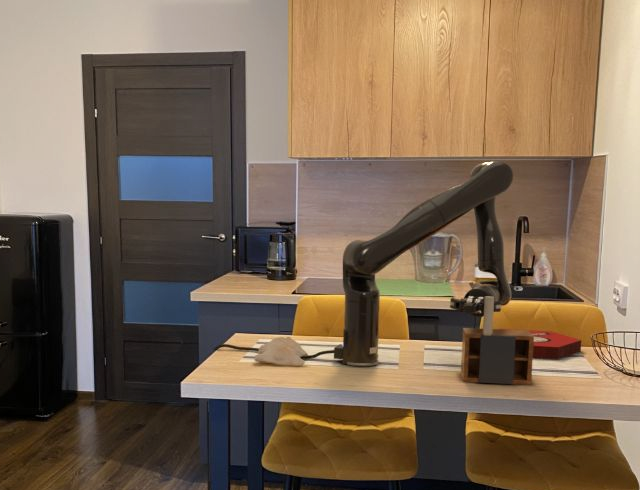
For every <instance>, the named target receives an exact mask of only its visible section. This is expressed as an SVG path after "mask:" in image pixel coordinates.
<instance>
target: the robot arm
mask: <svg viewBox="0 0 640 490" xmlns="http://www.w3.org/2000/svg"><path fill="white" fill-rule="evenodd" d="M513 181H514V170H513V168H512V166H510V165H509V164H508V163H506V162H505V161H500V160H491V161H486V162H482V163H479V164H477V165H476V166H474V167H473V168H472V170H471V172H470V174H469V178H468V179H467V180H466V181H464V182H462V183H461V184H458V185H455V186H453V187H451V188H448V189H445V190H443V191H440V192H439V193H436V194H435V195H432V196H429V197H428V198H426V199H425V200H423V201H421V202H420V203H418V204H416V205H414V206H413V207H412V208H410V209H409V210H408V211H407V212H406V213H405V214H404V215H403V216H402V217H401V218H400V219H399V221H398V222H397V223H396V224H395V225H394V226H393V227H391V228H390V229H388V230H387V231H385V232H383V233H381V234H380V235H378V236H375V237H374V238H371V239H369V240H366V239H355V240H352V241H350V242H349V243H348V244H347V245H346V247H345V249H344V250H343V255H342V288H343V291H344V320H343V321H344V322H343V323H344V326H343V331H342V333H343V335H342V341H343V342H342V343H340V344H338V345H336V346H335V347H334V348H333V349H329V350H322V351H319V352H316V353H314V354H311V355H309V354H308V356H307V357H300V358H301V359H302V360H310V359H316V358H317V357H319V356H323V355H328V354H329V355H330V354H333V359H335V360H342V365H348V366H352V367H372V366H376V365H378V364H379V335H380V334H379V331H380V328H379V327H380V299H381V297H380V296H381V295H380V294H381V293H380V289H379V288H378V286H377V281H376V274H378V273H379V272H381V271H382V270H383V269H385V268H386V267H387V266H389V265H390V264H391V263H393V262H394V261H395V260H396V259H397V258H399V257H400V256H402V255H403V254H404V253H406V252H407V251H409V250H411V249H412V248H415V247H417V245H420V244H422V243H423V242H425V241H426V240H428V239H430V238H431V237H433V236H435V235H436V234H439V233H440V232H441V231H443V230H444V229H446V228H447V227H449V226H450V225H452V224H453V223H456V221H458V220H459V219H460V218H462V217H464V216H465V215H466V214H468V213H469V212H470V211H472V210H473V212H474V218H475V226H476V239H477V240H476V241H477V267H478V270H479V271H480V272H483V273H487V274H491V275H494V276H495V279H496V280H478V281H475V282H474V284H473V285H472V288H471V289H469V290H468V291H467V292H466V293H465V295H464V297H462V298H456V297H450V299H449V303H450V304H449V308H450V309H452V310H455V311H459V312H461V313H462V312H464V313H465V314H467V315H470V316H472V317H475V318H484V300H485V296H492V297H494V311H493V313H499V312H501V311H502V307H505V306H507V305H508V304H509V303H510V301H511V299H512V290H511V286H510V283H509V279H508V277H507V274H506V273H507V272H506V267H505V242H504V237H503V233H502V230H501V226H500V223H499V220H498V216H497V212H496V198H497V197H498V196H500V195H502V194H504V193H505V192H507V191H508V190H509V189H510V187H512V184H513V183H514V182H513ZM221 348H228V349H233V350H238V351H251V352H252V351H253V352H258V350H259V348H260V347H247V346H237V345H234V344H233V345H232V344H227V343H222V344H218V345H217V346H215V347H214V348H213V351H218V350H219V349H221ZM208 402H209V400H206V457H207V459H206V463H207V490H211V480H210V481H209V412H208Z"/></svg>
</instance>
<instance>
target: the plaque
mask: <svg viewBox="0 0 640 490" xmlns="http://www.w3.org/2000/svg"><path fill="white" fill-rule="evenodd" d="M504 329H505V330H518V328H517V329H515V328H514V329H513V328H504ZM528 330H529V332H530V333H531V334H532V335H533V336H534V345H533V359H544V360H557V361H558V360H560V359H563V358H567V357H569V356H573V355H576V354H579V353H581V352H582V339H579V338H575V337H572V336H570V335H569V336H568V335H565V334H561V333H559V332H555V331H551V330H534V329H533V330H532V329H528Z"/></svg>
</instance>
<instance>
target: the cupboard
mask: <svg viewBox="0 0 640 490" xmlns="http://www.w3.org/2000/svg"><path fill="white" fill-rule="evenodd" d="M505 329H506V328H493V329H492V334H491V335H507V336H516V340H515V357H514V375H513V384H512V385H527V386H531V385H532V376H533V359H534V358H533V345H534V336H533V335H532V334H531V333H530V332H529V330H530V329H517V330H505ZM481 334H482V335H484V334H483V328H477V327H474V328H473V327H463V328H462V341H461V363H460V375H461V379H462V382H466V383H480V382H479V361H480V341H481Z"/></svg>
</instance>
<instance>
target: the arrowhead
mask: <svg viewBox="0 0 640 490" xmlns="http://www.w3.org/2000/svg"><path fill="white" fill-rule="evenodd" d="M258 348H259V350H258V351H257V354H256V355H255V356H254V362H256V363H267V364H272V365H278V366H296V367H297V366H298V367H299V366H304V365H305V359H301V358H300V357H307V356H309V354H308V353H307V352H306V350H305V349H303V348H302V346H301V344H299V342H297V341H296V340H295V339H293V338H291V336H287V337H284V336H278V337H275V338H273V339H271V340H270V341H269V342H266V343H264V344H262V345H260V346H259V347H258Z"/></svg>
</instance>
